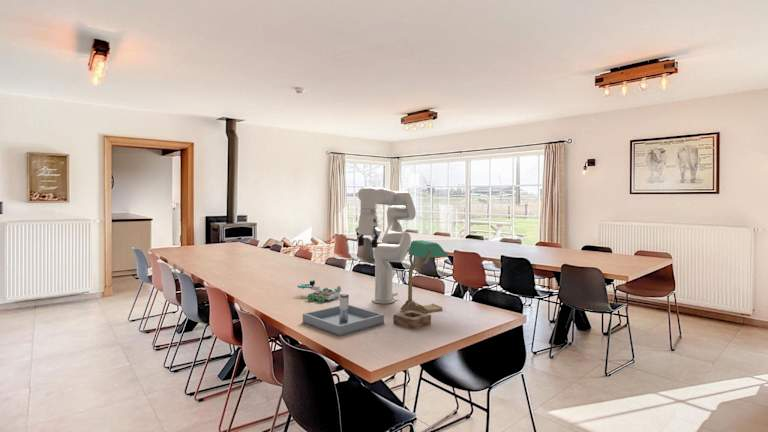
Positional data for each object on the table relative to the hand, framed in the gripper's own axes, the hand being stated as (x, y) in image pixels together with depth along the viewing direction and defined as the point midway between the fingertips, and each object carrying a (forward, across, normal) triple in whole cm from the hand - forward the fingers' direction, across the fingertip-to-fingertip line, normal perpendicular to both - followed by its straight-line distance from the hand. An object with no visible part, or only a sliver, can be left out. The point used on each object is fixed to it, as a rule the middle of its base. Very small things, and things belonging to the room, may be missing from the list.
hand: (367, 246), depth 212 cm
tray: (+32, -8, +22) cm, 40 cm away
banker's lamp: (+32, -19, -21) cm, 43 cm away
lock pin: (+32, -8, +22) cm, 39 cm away
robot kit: (+33, +40, +2) cm, 52 cm away
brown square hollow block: (+32, -30, 0) cm, 44 cm away
